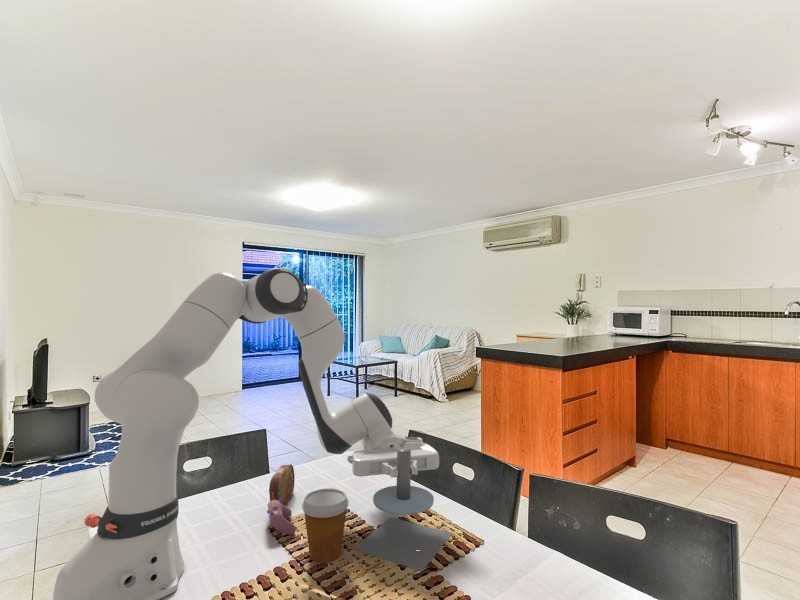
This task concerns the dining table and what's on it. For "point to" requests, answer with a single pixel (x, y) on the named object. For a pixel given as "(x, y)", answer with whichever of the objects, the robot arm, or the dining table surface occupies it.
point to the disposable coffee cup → (325, 523)
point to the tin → (282, 484)
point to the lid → (403, 491)
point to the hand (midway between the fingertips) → (404, 472)
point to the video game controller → (280, 517)
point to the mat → (404, 543)
